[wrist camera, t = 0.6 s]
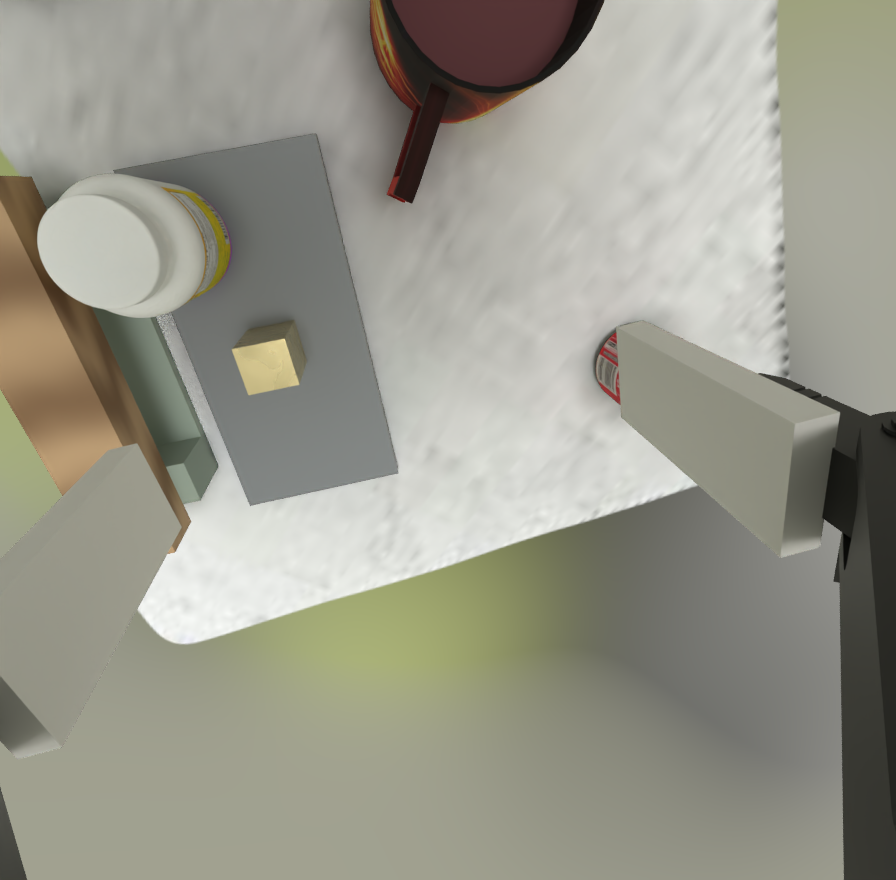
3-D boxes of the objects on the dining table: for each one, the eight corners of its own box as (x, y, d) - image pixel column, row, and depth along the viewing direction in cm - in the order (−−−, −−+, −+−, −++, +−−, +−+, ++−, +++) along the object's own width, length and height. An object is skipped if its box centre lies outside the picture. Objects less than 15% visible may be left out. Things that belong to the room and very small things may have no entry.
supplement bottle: (114, 272, 34) (-5, 299, 22) (134, 166, 32) (15, 135, 20) (222, 309, 36) (165, 352, 24) (247, 211, 34) (198, 207, 22)
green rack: (7, 220, 32) (-51, 225, 28) (106, 202, 32) (65, 204, 28) (140, 482, 41) (113, 519, 36) (218, 466, 41) (200, 500, 36)
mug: (386, 201, 35) (396, 208, 24) (358, -78, 28) (354, -237, 18) (529, 191, 36) (600, 194, 25) (531, -81, 29) (626, -233, 19)
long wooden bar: (-59, 191, 27) (-115, 192, 24) (31, 177, 27) (-12, 175, 24) (126, 535, 37) (104, 567, 34) (190, 521, 37) (175, 552, 34)
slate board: (120, 170, 32) (113, 170, 31) (316, 135, 32) (315, 133, 31) (252, 498, 43) (250, 505, 42) (397, 467, 43) (398, 473, 42)
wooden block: (248, 329, 36) (231, 349, 31) (294, 319, 36) (284, 338, 32) (262, 370, 37) (248, 395, 33) (307, 361, 37) (299, 384, 33)
